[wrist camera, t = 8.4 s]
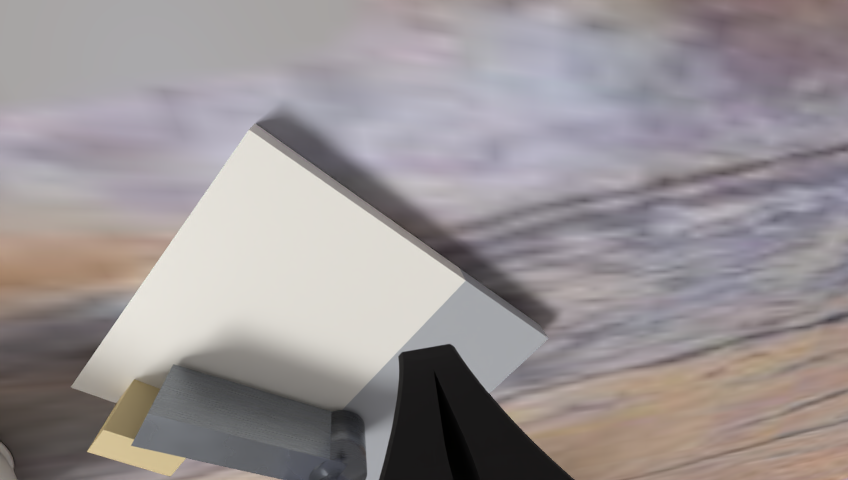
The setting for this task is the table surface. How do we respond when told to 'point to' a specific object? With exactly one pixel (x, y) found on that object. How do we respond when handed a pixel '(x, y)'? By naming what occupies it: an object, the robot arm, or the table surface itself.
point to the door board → (294, 305)
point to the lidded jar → (6, 464)
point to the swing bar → (252, 430)
